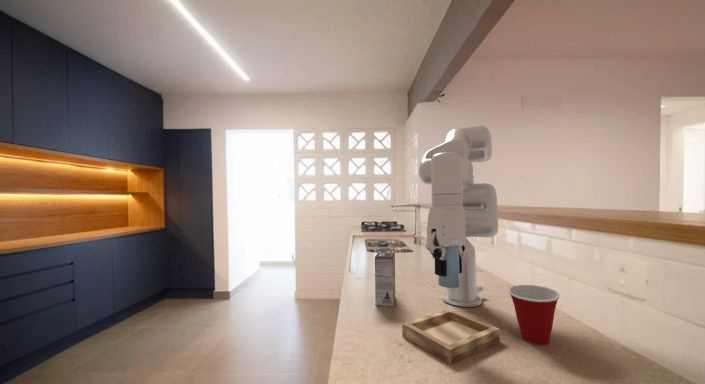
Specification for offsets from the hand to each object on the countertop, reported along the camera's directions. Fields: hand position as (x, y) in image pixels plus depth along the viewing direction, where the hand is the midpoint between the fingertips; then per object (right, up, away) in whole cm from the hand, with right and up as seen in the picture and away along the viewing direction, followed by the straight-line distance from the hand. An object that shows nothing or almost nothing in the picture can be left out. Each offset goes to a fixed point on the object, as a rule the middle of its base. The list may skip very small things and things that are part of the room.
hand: (448, 273), depth 70 cm
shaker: (0, -3, 0) cm, 3 cm away
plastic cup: (+21, -16, -1) cm, 26 cm away
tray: (0, -16, 0) cm, 16 cm away
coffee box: (-13, -18, +26) cm, 34 cm away
